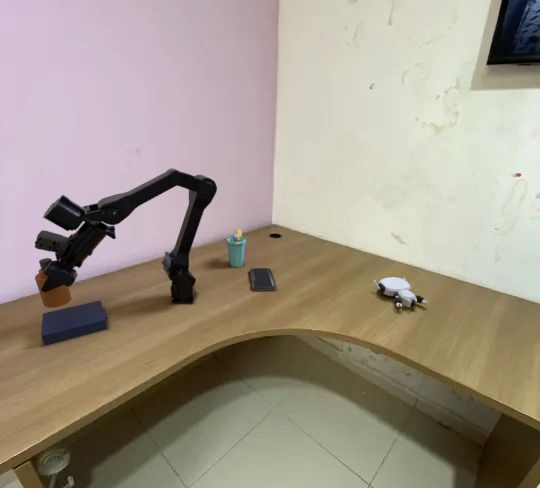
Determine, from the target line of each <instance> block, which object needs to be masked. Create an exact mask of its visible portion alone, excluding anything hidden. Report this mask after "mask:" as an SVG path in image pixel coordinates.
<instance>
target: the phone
mask: <svg viewBox="0 0 540 488" xmlns="http://www.w3.org/2000/svg"><path fill="white" fill-rule="evenodd" d="M249 275H250V280H251V287H252V290H253V291H255V292H256V291H257V292H258V291H260V292H261V291H262V292H263V291H275V290H276V283H275V280H274V277H273V273H272V270H271V268H270V267H255V268H254V267H253V268H250V269H249Z"/></svg>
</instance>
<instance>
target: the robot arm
mask: <svg viewBox="0 0 540 488" xmlns="http://www.w3.org/2000/svg"><path fill="white" fill-rule="evenodd" d="M175 187H181V188H183V189H185V190H188V205H187V208H186V211H185V214H184V218H183V221H182V223H181V227H180V230H179V233H178V236H177V239H176V242H175V245H174V247H173V249H172V250H171V251H170V252H168V251H165V252H164V258H163V260H162V261H161V264H162V269H163V271H164V273H165V274H166V276H167V278H168V279H169V280H170V281H171V285H170V287H169V288H170V289H169V290H170V297H171V299H172V300H171V303H172V304H193V303H194V301H195V299H196V296H197V291H196V289H195V285H196V281H197V279H196V277H195V276H194V275H193V273H192V272H191V271H190V253H191V249H192V246H193V244H194V241H195V237H196V235H197V233H198V229H199V227H200V224H201V220H202V218H203V215H204V211H205V210H206V209H207V208H208V207H209V206H210V204H211V203H212V201H213V200H214V198H215V196H216V195H217V191H218V185H217V182H216V181H215V180H214V179H212V178H210V177H208V176H206V175H204V174H196V175H193V174H190V173H187V172H185V171H184V172H183V171H181V170H179V169H176V168H173V167H172V168H171V167H170V168H168V169H166V171H165V172H163V173H161V174H159V175H157V176H155V177H153V178H151V179H149V180H147V181H145V182H144V183H142V184H140V185H138V186H136V187H134V188H131V189H130V190H128V191H125V192H121V193H117V194H113V195H108V196H105V197H103V198H101V199H99V200H98V202H96V203H91V204H88V205H83V206H81V205H80V204H77V203H76V202H74V201H73V200H71V199H70V197H68V196H66V195H65V194H61V196H60V197H59V198H57V199H56V200H55V201H54V202H52V203H51V204H50V205H49V207H48V208H47V209H46V211H45V212H44V214H43V216H42V218H43V219H45V220H46V221H48V222H50V223H52V224H54V225H56V226H57V227H59V228H61V229H62V230H65V231H66V232H69V231H71V232H73V231H75V232H74V233H71V234H69V236H65V235H63V234H59V233H55V232H53V231H49V230H40V231H39V232H38V234H37V236H36V239H35V241H34V248H35V249H36V250H41V251H45V252H51V253H54V256H55V260H52V261H51V262H50V263H49V265H48V266H47V267H46V269H45V270H44V272H43V273H44V275H46V276H48V278H47V279H46V281H45V283H44V285H43V287H42V289H41V291H43V292H47V291H50V290H52V289H54V288H57V287H59V286H62V285H65V286H67V287H68V288H69V287H71V286H72V285H73V284H74V283H75V282H76V281H77V280H76V279H77V277H78V272H77V271H78V270H76V269H75V268H79V269H80V268H81V267H82V266H83V264H84V261H85V260H86V259H87V258H88V257H91V256H92V255H93V253H94V251H95V249H96V248H98V246H99V245H100V244H101V242H102V241H104V239H105V238H106V237H109V238H111V239H112V240H116V238H117V236H116V225H119V224H121V223H122V222H123V221H124V220H125V219H127V218H128V217H129V216H130V215H131V214H132V213H133V212H134V211H135V210H136V209H137V208H138V207H141V206H142V205H144V204H145V203H148V202H149V201H151V200H153V199H155V198H157V197H159V196H161V195H162V194H164V193H166V192H167V191H169V190H172V189H173V188H175Z"/></svg>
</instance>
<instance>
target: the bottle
mask: <svg viewBox="0 0 540 488" xmlns="http://www.w3.org/2000/svg"><path fill="white" fill-rule="evenodd" d="M51 261H53V260H52V258H50V257H46V258H42V259H39V260H38V263H39V267H40V268H39V269H38V273H37V274H35V276H34V280H35V283H36V286H37V289H38V292H39V295H40V298H41V302H42V304H43V306H44V307H45V308H47V309H53V308H61V307H64V306H66V305H67V304H69V303H70V302H71V301H72V295H71V291H70V289H69V287H67V286H65V285H62V286H59V287H57V288H54V289H52V290H50V291H47V292H43V291H41V289H42V287H43V285H44V283H45V281H46V279H47V278H48V276H46V275H44V273H43V272H44V270H45V269H46V267H47V266H48V265H49V263H50V262H51Z"/></svg>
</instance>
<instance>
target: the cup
mask: <svg viewBox="0 0 540 488" xmlns="http://www.w3.org/2000/svg"><path fill="white" fill-rule="evenodd" d="M242 235H243V231H242V227H237V229H236V230H235V232H234V233H233V236H229V237H227V238H226V240H225V241H226V243H227V252H228V260H229V265H230V266H231V268H242V267H243V265H244V261H245V252H246V251H245V250H246V243H247V239H246V238H245V237H244V236H242Z"/></svg>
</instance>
